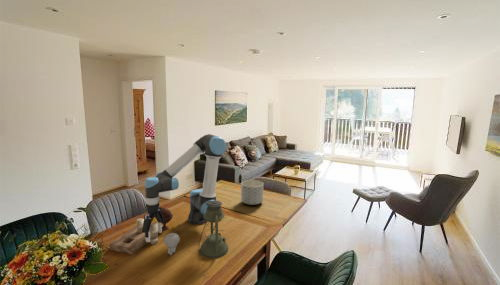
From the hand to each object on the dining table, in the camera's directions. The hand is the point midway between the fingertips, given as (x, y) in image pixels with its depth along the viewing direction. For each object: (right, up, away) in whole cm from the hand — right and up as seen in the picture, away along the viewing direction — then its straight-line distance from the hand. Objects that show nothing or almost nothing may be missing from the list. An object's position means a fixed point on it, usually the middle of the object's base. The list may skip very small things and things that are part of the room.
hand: (154, 236), depth 157 cm
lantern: (+38, -6, -5) cm, 38 cm away
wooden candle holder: (-12, -4, +1) cm, 13 cm away
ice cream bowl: (+1, -1, +18) cm, 18 cm away
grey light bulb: (+14, -6, -10) cm, 19 cm away
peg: (0, -4, +1) cm, 4 cm away
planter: (+61, +5, +64) cm, 89 cm away
